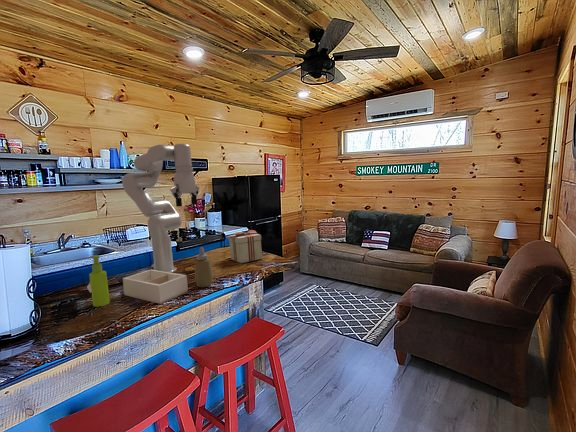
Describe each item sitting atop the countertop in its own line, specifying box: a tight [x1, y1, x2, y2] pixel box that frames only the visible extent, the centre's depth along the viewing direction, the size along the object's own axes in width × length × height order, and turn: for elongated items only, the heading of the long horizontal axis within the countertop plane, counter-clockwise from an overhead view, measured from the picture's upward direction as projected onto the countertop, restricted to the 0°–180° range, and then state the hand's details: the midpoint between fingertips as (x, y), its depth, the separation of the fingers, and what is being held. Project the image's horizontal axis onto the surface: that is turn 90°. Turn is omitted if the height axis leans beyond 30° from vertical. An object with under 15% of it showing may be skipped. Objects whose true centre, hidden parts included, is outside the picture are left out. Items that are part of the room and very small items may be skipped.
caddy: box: [122, 269, 189, 305], centre depth 133 cm, size 24×14×8 cm, turn 60°
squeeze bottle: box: [194, 246, 214, 288], centre depth 139 cm, size 8×8×18 cm
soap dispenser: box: [88, 254, 111, 308], centre depth 123 cm, size 6×7×20 cm
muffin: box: [86, 282, 91, 294], centre depth 137 cm, size 6×6×7 cm
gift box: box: [225, 229, 263, 264], centre depth 184 cm, size 17×18×17 cm
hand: (187, 205), depth 149 cm, fingers open, 9 cm apart
